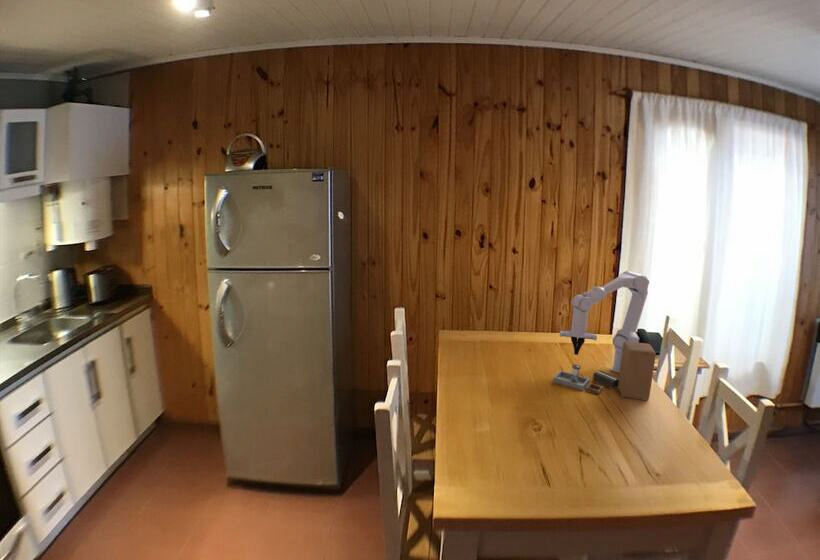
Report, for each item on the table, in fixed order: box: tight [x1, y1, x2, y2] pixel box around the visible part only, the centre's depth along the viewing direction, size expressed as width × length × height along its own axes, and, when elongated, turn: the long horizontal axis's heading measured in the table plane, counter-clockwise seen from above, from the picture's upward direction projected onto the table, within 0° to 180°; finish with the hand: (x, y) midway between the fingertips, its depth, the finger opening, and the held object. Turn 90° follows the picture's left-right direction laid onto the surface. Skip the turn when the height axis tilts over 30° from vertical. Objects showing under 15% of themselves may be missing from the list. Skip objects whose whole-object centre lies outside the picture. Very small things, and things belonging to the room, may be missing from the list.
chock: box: [592, 370, 619, 390], centre depth 186 cm, size 9×4×4 cm, turn 33°
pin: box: [571, 364, 582, 383], centre depth 185 cm, size 3×3×7 cm
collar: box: [585, 382, 604, 395], centre depth 180 cm, size 5×5×2 cm
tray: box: [552, 370, 590, 392], centre depth 185 cm, size 12×8×2 cm
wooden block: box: [617, 342, 657, 401], centre depth 175 cm, size 10×10×20 cm
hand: (576, 353), depth 190 cm, fingers closed
